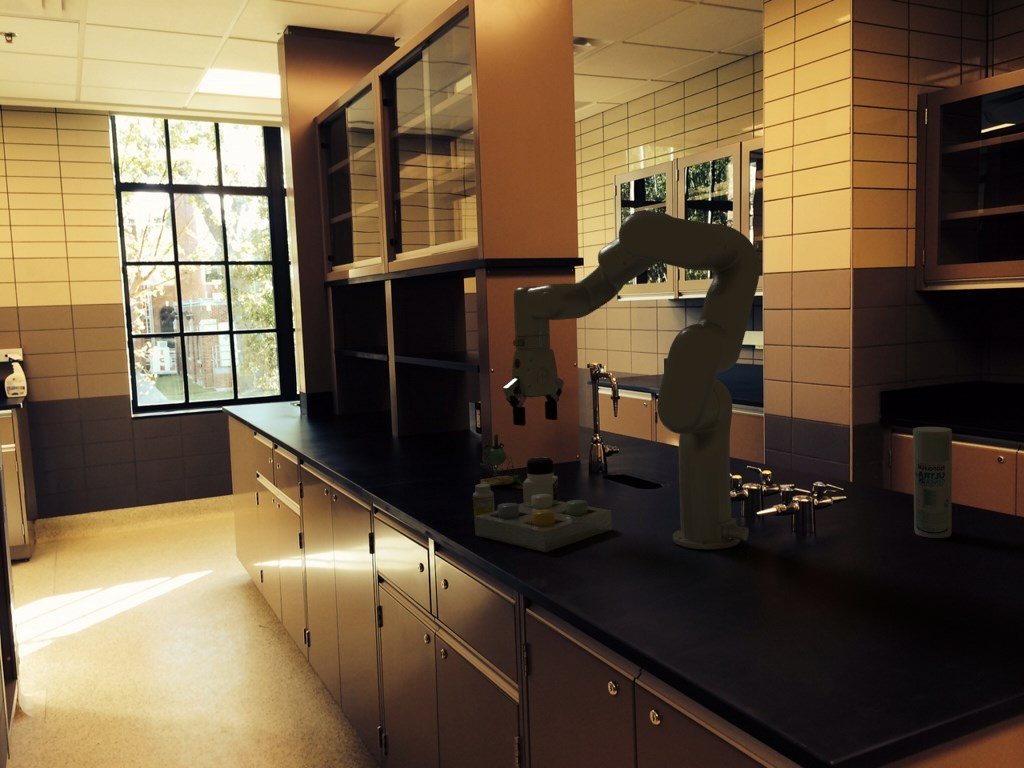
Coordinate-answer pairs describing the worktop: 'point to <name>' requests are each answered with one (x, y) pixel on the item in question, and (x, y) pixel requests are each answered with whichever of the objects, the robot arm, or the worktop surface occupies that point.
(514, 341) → the robot arm
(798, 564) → the worktop surface
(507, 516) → the slate button
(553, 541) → the panel
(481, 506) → the supplement bottle
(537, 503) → the ivory button
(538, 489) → the medicine bottle
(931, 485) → the spray can
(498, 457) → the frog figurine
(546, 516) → the amber rounded lump
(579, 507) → the sage button
